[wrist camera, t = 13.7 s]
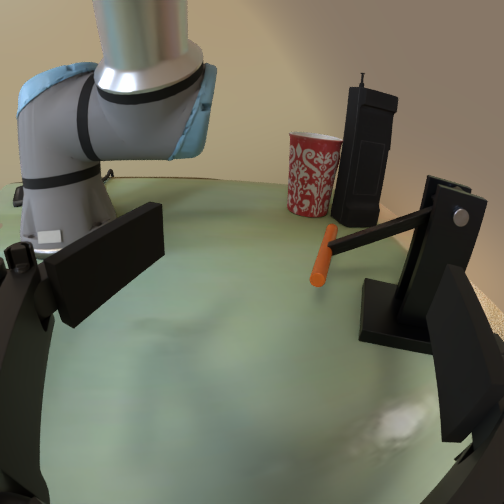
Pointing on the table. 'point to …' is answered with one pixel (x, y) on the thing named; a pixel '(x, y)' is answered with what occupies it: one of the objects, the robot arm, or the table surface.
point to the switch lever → (363, 239)
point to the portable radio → (363, 156)
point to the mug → (312, 172)
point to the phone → (18, 196)
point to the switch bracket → (422, 269)
